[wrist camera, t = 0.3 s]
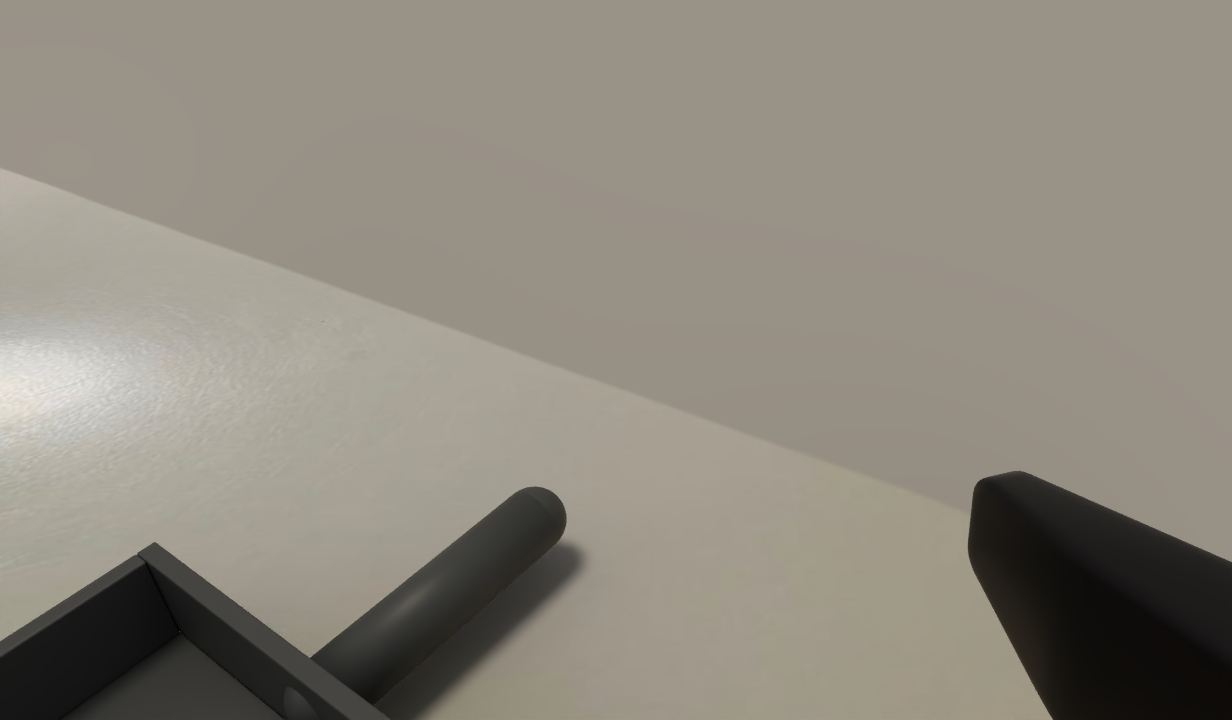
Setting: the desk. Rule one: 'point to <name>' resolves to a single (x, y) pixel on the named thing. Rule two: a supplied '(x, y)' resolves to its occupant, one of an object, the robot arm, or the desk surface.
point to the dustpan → (253, 636)
